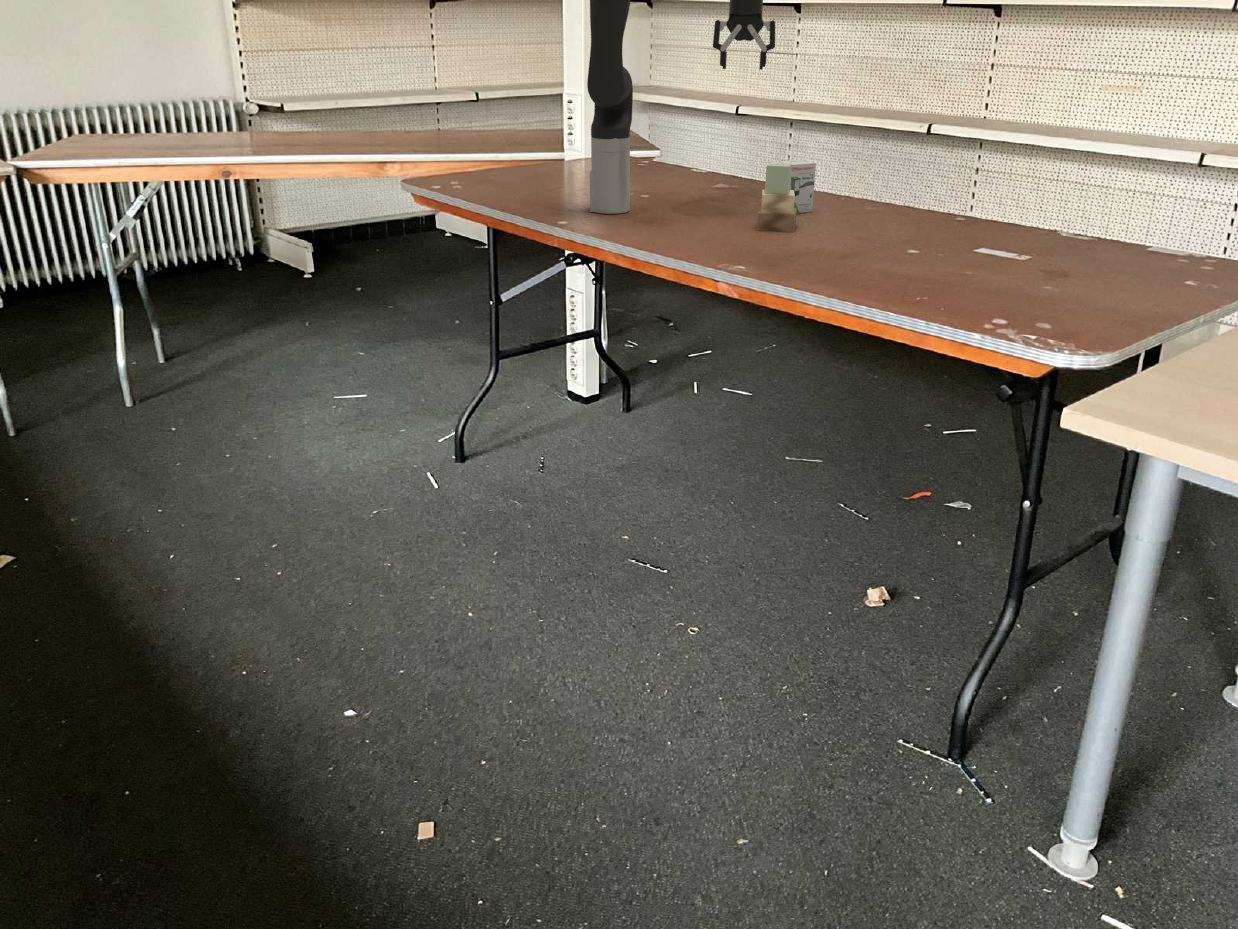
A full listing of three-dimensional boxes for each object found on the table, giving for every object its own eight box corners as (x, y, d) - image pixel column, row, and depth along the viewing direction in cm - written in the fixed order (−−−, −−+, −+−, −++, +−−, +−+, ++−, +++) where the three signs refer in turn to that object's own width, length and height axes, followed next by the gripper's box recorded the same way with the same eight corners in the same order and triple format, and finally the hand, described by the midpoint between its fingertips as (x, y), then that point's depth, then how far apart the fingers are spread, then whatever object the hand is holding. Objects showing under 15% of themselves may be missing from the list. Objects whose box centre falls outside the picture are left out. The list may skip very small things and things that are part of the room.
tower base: (756, 231, 217) (758, 213, 215) (760, 224, 224) (761, 206, 222) (793, 233, 215) (794, 214, 214) (795, 226, 223) (796, 208, 221)
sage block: (764, 193, 215) (766, 165, 213) (767, 189, 219) (769, 162, 217) (787, 194, 214) (789, 166, 211) (789, 190, 218) (791, 163, 216)
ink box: (784, 215, 233) (788, 163, 228) (772, 211, 237) (775, 161, 232) (813, 211, 237) (817, 161, 232) (800, 208, 241) (803, 158, 236)
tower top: (761, 213, 215) (762, 194, 214) (761, 207, 222) (762, 189, 220) (793, 214, 215) (794, 195, 213) (792, 208, 221) (793, 190, 219)
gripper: (714, -9, 218) (710, 69, 225) (778, -9, 216) (773, 70, 223) (716, -8, 224) (713, 67, 231) (778, -8, 222) (773, 68, 229)
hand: (742, 69), depth 227 cm, fingers open, 8 cm apart
